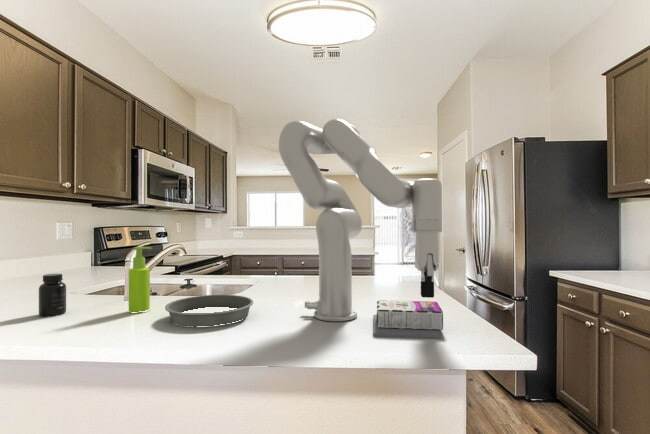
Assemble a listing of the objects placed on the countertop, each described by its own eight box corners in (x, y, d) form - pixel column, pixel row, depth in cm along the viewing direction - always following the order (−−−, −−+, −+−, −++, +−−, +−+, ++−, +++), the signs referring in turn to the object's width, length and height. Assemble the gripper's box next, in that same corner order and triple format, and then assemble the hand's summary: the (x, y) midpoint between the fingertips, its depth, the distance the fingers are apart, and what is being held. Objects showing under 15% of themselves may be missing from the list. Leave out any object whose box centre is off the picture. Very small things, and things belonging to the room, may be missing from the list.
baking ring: (144, 326, 103) (144, 309, 103) (198, 306, 127) (198, 292, 127) (226, 333, 97) (226, 315, 97) (267, 311, 120) (267, 296, 120)
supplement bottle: (33, 315, 114) (33, 275, 114) (56, 310, 120) (56, 272, 120) (48, 318, 112) (48, 276, 112) (71, 312, 118) (71, 273, 118)
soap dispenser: (156, 309, 121) (156, 246, 121) (135, 314, 115) (135, 247, 116) (145, 307, 124) (145, 245, 125) (124, 311, 119) (124, 247, 119)
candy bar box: (437, 319, 106) (377, 316, 108) (437, 301, 106) (377, 298, 108) (443, 331, 95) (376, 328, 97) (443, 311, 94) (376, 308, 97)
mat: (373, 336, 93) (373, 332, 93) (373, 317, 111) (373, 314, 111) (441, 338, 91) (441, 335, 91) (430, 319, 109) (430, 316, 109)
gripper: (409, 226, 108) (409, 291, 108) (415, 227, 94) (415, 302, 93) (437, 226, 107) (437, 291, 107) (447, 227, 93) (447, 303, 92)
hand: (427, 296), depth 100 cm, fingers closed
